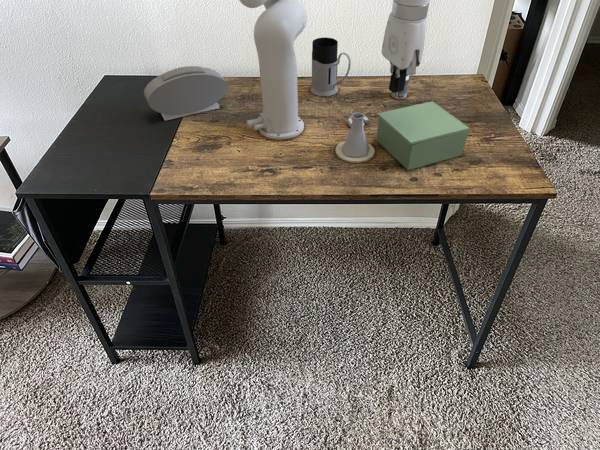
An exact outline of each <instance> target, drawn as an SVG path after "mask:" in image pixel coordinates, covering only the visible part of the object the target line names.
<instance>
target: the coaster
mask: <svg viewBox="0 0 600 450" xmlns="http://www.w3.org/2000/svg"><path fill="white" fill-rule="evenodd" d="M344 143H345V140H344V141H342V142H339V143H338V144H337V145H336V147H335V155H336V157H337V158H338V159H340V160H342V161H344V162H346V163H352V164H360V163H361V164H363V163H366V162H368V161H370V160H372V159H373V158H374V156H375V151H376V150H375V148H374V146H373V145H372V144H371V143H369V142H368V145H369V152H368V154H367V155H365V156H360V157H353V156H347V155H345V154H344V152H343V151H342V147H343V145H344Z"/></svg>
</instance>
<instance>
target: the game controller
mask: <svg viewBox="0 0 600 450" xmlns="http://www.w3.org/2000/svg"><path fill="white" fill-rule="evenodd" d="M340 111H341V113H342V114H343V115H345V116H347V115H348V116H350V114H349V113H346V114H344V112H343V111H342V110H341V109H340V110H339V112H340ZM368 121H369V118H368V117H367V116H366V115H365V116H364V119H363V128H364V129H365V124H368ZM347 124H348V127H350V128H351V125H352V117H351V116H350V117H349V118H348V119H347Z"/></svg>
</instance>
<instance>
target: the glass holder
mask: <svg viewBox="0 0 600 450" xmlns="http://www.w3.org/2000/svg"><path fill="white" fill-rule="evenodd" d="M338 43H339V41H338V40H337V39H336V38H333V37H327V36H326V37H318V38H315V39H314V40H312V43H311V44H312V46H311V47H312V50H311V87H310V92H311V94H313V95H315V96H318V97H330V96H335V95H336V94H337V93H338V91H339V88H338V84H339V83H341V82H342V81H344V80H345V79H347V77H348V75H349V73H350V70H351V64H352V61H351V57H350V55H349V54H348V53H347V52H340V54H339V55H338V47H339V44H338ZM343 55H344V56H345V57H347V60H348V67H347V70H346V73H345V75H344V76H343V78H342V79H340V80H338V66H339V65H340V62H341V56H343Z"/></svg>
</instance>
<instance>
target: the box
mask: <svg viewBox="0 0 600 450" xmlns="http://www.w3.org/2000/svg"><path fill="white" fill-rule="evenodd" d="M468 134H469V130H468V131H464V132H460V133H456V134H452V135H448V136H444V137H440V138H436V139H432V140H428V141H424V142H420V143H416V144H412V145H410V144H409V143H408V142H406V141H405V140H404V139H403V138H402V137H401V136H400V135H398V134H397V133H396V132H395V131H394V130H393V129H392V128H391V127H389V126H388V125H387V124H386V123H385V122H384V121H383V120H382V119H380V118H379V117H378V125H377V133H376V142H378V143H379V145H381V146H382V147H383V148H384V149H385V150H386V151H387V152H388V153H389V154H390V155H391V156H392V157H393V158H395V160H396V161H398V163H400V164H401V165H402V166H403V167H404V168H405V170H407V171H411V170H414V169H415V170H416V169H419V168H421V167H425V166H428V165H432V164H435V163H439V162H443V161H446V160H450V159H454V158H457V157H461V156H463V153H464V149H465V147H466V142H467V140H468Z"/></svg>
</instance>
